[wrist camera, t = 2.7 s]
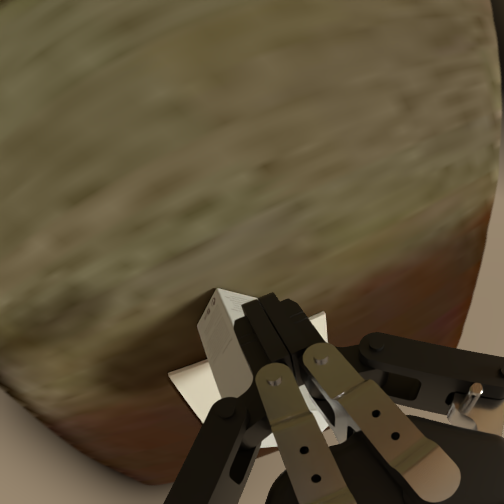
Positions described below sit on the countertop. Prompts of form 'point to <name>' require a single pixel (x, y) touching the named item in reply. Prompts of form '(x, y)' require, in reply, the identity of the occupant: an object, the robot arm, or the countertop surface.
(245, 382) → the skincare box
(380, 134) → the countertop surface
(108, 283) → the countertop surface
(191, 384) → the mat
